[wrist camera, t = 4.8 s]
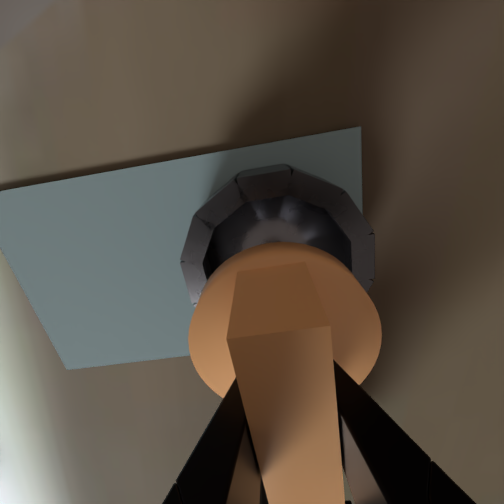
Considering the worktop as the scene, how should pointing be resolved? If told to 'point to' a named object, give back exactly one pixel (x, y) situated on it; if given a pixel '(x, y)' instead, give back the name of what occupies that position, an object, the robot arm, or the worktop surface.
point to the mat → (136, 244)
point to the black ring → (276, 223)
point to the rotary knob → (287, 358)
